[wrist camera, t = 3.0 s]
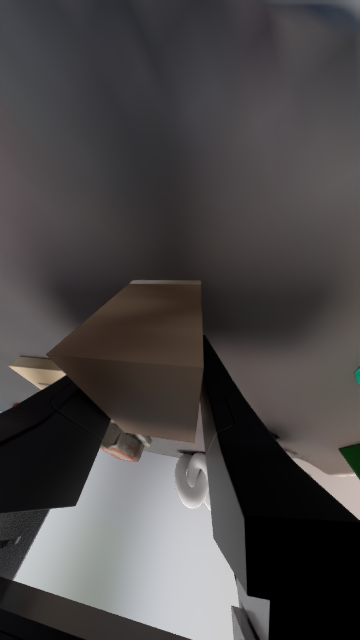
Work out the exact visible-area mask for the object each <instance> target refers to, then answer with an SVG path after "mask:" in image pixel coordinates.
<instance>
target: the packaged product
mask: <svg viewBox="0 0 360 640" xmlns="http://www.w3.org/2000/svg"><path fill="white" fill-rule="evenodd" d="M144 446H147V447H151V440H150V438H149V436H144V435H138V434H131V433H125V432H124V431H123V430H122V429H121V428H120V427H119V426H118V425H117V424H116V423H115V422H114V421H113V420H112V419H111V421H110V424H109V426H108V429H107V431H106V434H105V436H104V438H103V441H102V444H101V446H100V448H101V449H102V450H103V451H105V452H107V453H109V454H110V455H112V456H114V457H115V458H118V459H120V460H127V461H133V462H138V461H139V459H140V457H141V454H142V452H143V448H144Z"/></svg>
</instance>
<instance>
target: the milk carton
mask: <svg viewBox="0 0 360 640" xmlns="http://www.w3.org/2000/svg"><path fill="white" fill-rule="evenodd" d="M339 451H340V452H341V454H342V455H343V457H344V458H345V459H346V461H347V462H348V464H349V465H350V467H351V468H352V469H353V471H354V472H355V474H356V475H357V477H358V478H359V479H360V444H359V445H355V446H351V447H346V448H342V449H339Z"/></svg>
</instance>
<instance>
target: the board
mask: <svg viewBox="0 0 360 640" xmlns="http://www.w3.org/2000/svg"><path fill="white" fill-rule="evenodd" d="M9 367H10V368H12V369H13V370H15V371H16V372H17V373H19V374H20V375H22V376H23V377H24V378H26V379H27V380H29V381H30V382H31V383H33V384H34V385H36V386H37V387H38V388H40V389H41V390H42V389H44V388H46V387H47V386H49V385H51V384H52V383H54V382H56V381H57V380H59V379H60V378H62V377H64V376H65V375H66V374H65V373H64V372H63V371H62V370H61V369H60V368H59V367H58V366H57V365H56V364H55V363H54V362H53V361H52V360H51V359H41V358H29V357H19V358H18V359H17V360H15V361H14V362H13V363H11V364H10V365H9Z"/></svg>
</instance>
